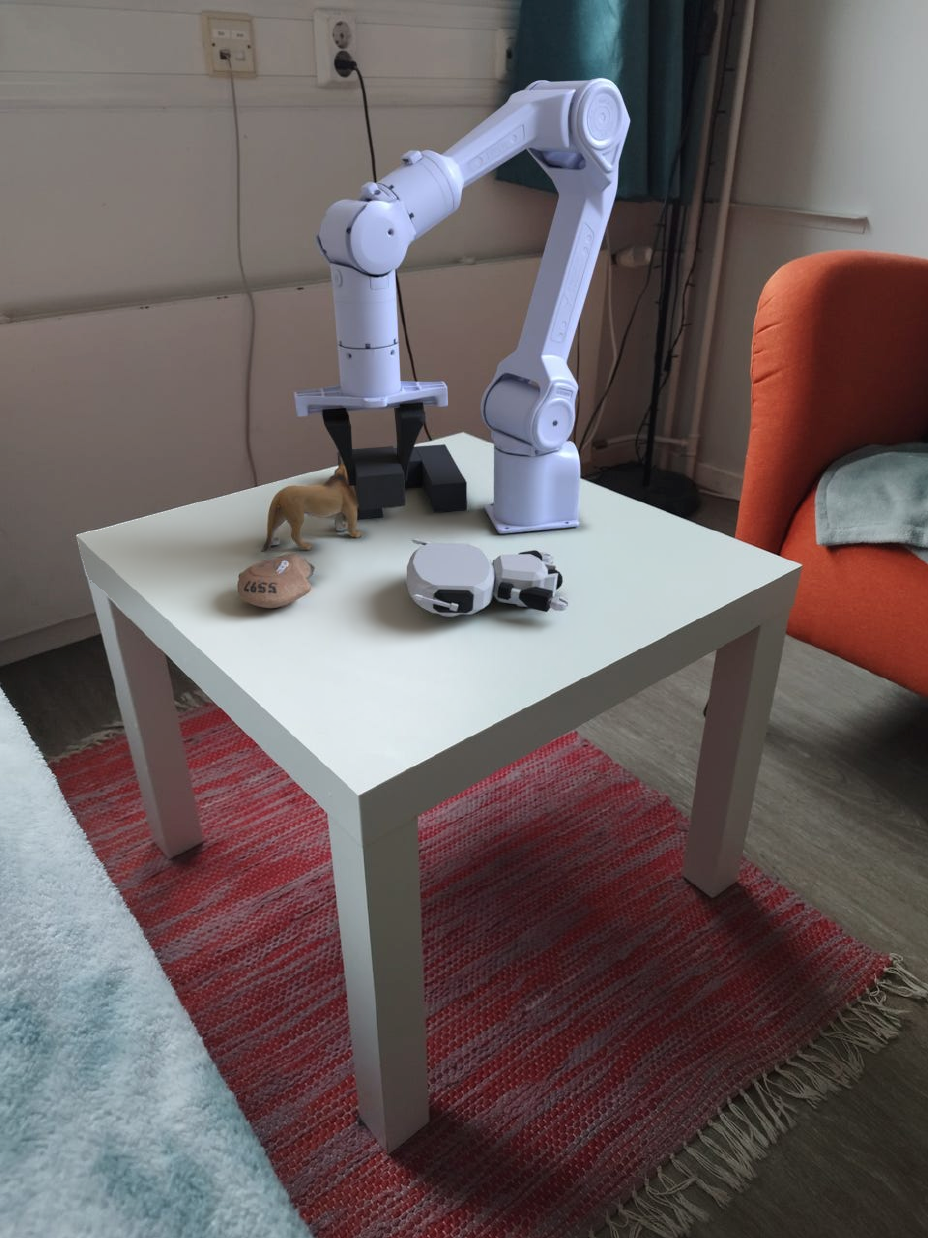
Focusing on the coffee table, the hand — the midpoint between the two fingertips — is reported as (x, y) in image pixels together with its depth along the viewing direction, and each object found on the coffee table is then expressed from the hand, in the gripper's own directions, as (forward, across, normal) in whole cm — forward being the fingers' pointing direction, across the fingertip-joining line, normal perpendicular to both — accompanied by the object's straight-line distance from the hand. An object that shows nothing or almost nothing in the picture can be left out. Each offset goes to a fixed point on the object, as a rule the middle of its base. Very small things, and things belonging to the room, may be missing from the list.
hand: (376, 480), depth 91 cm
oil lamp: (+9, -10, -5) cm, 15 cm away
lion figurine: (+9, -6, +8) cm, 13 cm away
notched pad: (+9, +5, +19) cm, 21 cm away
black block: (+1, 0, 0) cm, 1 cm away
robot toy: (+9, +9, -11) cm, 17 cm away
